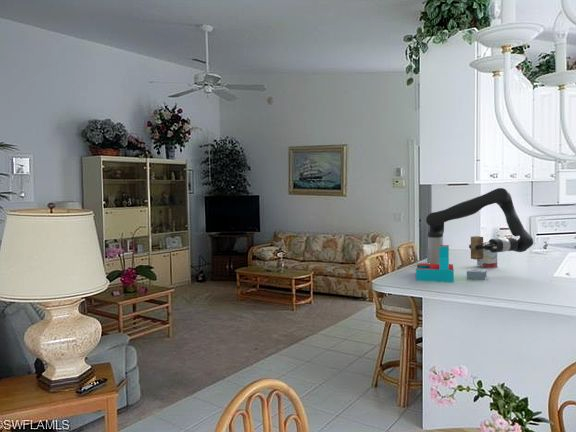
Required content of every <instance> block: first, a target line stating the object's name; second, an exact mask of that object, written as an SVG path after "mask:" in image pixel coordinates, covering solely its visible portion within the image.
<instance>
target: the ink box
mask: <svg viewBox="0 0 576 432" xmlns="http://www.w3.org/2000/svg"><path fill="white" fill-rule="evenodd" d="M477 265H478V266H477ZM476 266H477V267H480V266H483V267H482V268H486V267H492V268H498V252H495V253H493V252H490V250H483V259H479V260H476Z"/></svg>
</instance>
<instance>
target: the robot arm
mask: <svg viewBox="0 0 576 432" xmlns="http://www.w3.org/2000/svg"><path fill="white" fill-rule="evenodd" d="M493 204H497V205H498V206H499V208H500V209H501V210H502V212H503V214H504V217H505V221H506V224H507V227H508V229H509V231H510V233H511V235H512V236H513V237H508V238H504V237H503V238H501V237H499V238H491V239H489V240H488V241H486V242H485V241H483V245H477V246H475V249H476V250H480V249H482V250H490V252H493V253H495V252H497V253H504V252H515V253H516V252H517V253H523V252H526V251H527V250H528V249H530V248H531V247H532V246H533V245H534V239H533V237H532V235H530V234H529V232H528V231H527V230H526V229H525V227H524V226H523V224H522V221H521V219H520V218H519V216H518V214H517V211H516V208H515V205H514V203H513V199H512V195H511V194H510V192H509V191H508V190H507V189H506V188H503V187H498V188H496V189H493V190H490V191H488V192H485V194H482V195H479V196H477V197H473V198H471V199H467V200H465V201H461V202H460V203H456V204H454V205H453V206H450V207H448V208H445V209H442V210H439V211H434V212H431V213H429V214H428V215H427V216H426V218H425V221H426V224H427V225H428V226H429V231H428V233H427V250H426V252H427V253H426V254H427V255H426V262H427V263H430V264H439V245H444V233H445V223H446V222H449V221H452V220H453V221H454V220H458V219H462V218H467V217H469V216H472V215H474V214H477V213H478V212H479V211H480V210H481V209H483V208H485V207H487V206H490V205H493ZM514 237H519V238H518V239H516V238H514ZM468 248H469V250H471V243H470V244H469V245H468ZM427 263H426V264H427Z"/></svg>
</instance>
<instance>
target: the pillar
mask: <svg viewBox="0 0 576 432" xmlns="http://www.w3.org/2000/svg"><path fill="white" fill-rule="evenodd" d="M483 243H484V236H479V235H474V236H470V244H471V249H470V259H471V260H476V261H477V260H479V259H483V250H482V249H480V250H476V249H475V246H477V245H483Z"/></svg>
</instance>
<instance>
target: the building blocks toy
mask: <svg viewBox="0 0 576 432" xmlns="http://www.w3.org/2000/svg"><path fill="white" fill-rule="evenodd" d="M449 247H450V246H449V245H448V244H443V245H439V264H427V263H424V262H423V263H419V262H418V263H417V265H416V269H415V277H416V278H415V281H416V282H417V281H418V282H438V283H439V282H440V283H441V282H442V283H455V282H454V281H455V280H454V279H455V278H454V273H455V271H454V264H453V263H449V262H450V261H449V260H450V259H449V256H450V254H449V252H450V250H449V249H450V248H449Z"/></svg>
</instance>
